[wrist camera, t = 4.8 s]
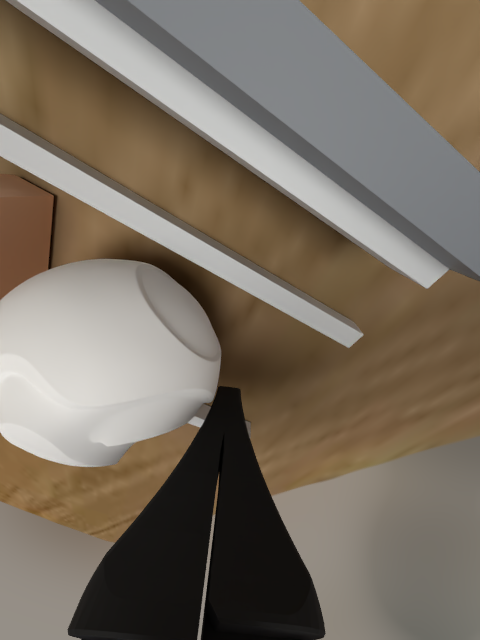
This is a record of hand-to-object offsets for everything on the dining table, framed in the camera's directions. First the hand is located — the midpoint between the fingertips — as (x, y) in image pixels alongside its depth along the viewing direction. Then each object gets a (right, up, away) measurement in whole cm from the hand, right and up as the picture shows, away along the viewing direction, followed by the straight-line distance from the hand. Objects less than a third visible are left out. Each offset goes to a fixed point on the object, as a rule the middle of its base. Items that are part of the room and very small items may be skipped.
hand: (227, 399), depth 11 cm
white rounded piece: (-4, +5, +1) cm, 6 cm away
